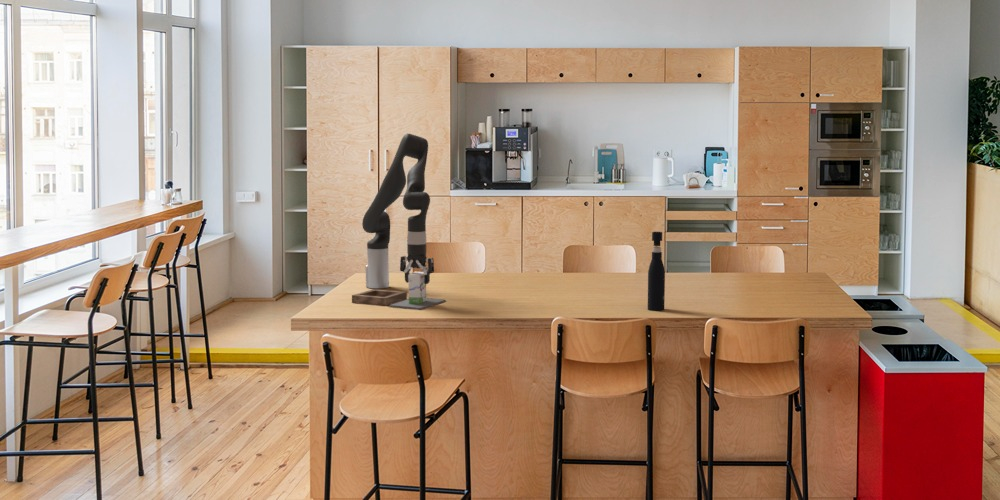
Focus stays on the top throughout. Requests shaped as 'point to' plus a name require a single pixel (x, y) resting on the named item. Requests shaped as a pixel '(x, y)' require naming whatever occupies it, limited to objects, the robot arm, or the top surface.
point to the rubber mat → (426, 304)
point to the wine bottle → (656, 276)
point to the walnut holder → (379, 297)
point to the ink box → (417, 288)
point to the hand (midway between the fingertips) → (417, 283)
